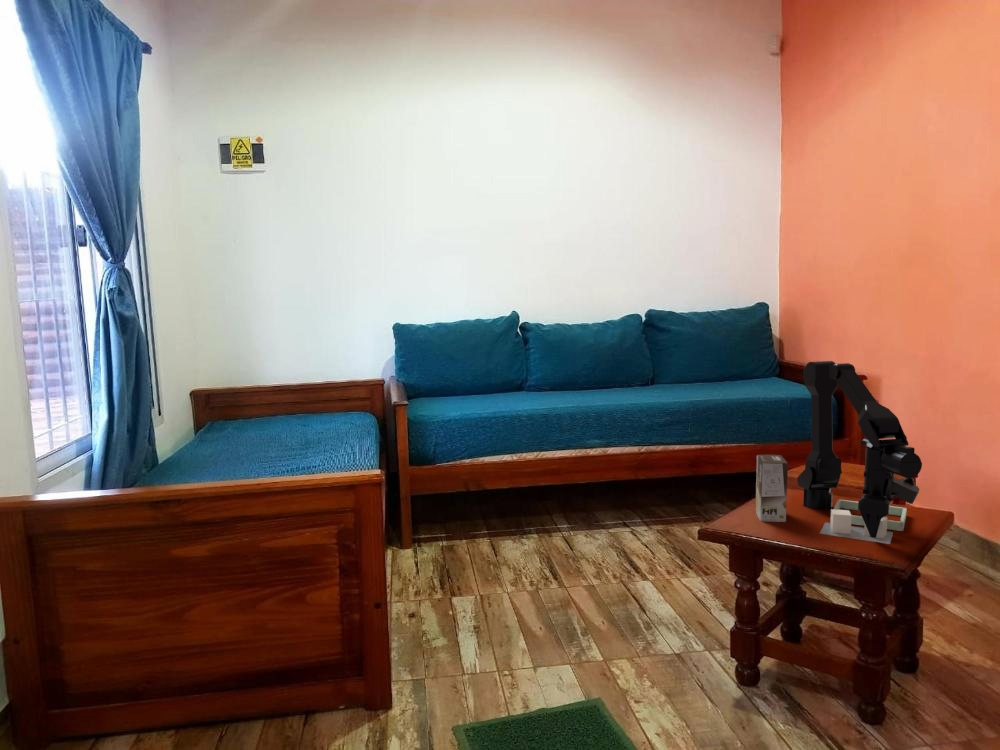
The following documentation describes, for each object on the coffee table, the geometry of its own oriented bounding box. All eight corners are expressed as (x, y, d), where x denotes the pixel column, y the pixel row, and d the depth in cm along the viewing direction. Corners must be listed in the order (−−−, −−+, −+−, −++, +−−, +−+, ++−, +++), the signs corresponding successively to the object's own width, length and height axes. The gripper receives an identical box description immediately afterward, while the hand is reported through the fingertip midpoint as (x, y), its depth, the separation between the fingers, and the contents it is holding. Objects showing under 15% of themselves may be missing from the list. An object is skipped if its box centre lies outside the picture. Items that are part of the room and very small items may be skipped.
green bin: (830, 524, 189) (831, 513, 189) (837, 510, 200) (838, 499, 200) (902, 535, 181) (903, 523, 181) (906, 519, 192) (906, 508, 192)
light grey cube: (863, 535, 179) (864, 517, 178) (868, 531, 181) (869, 514, 181) (882, 538, 176) (883, 521, 176) (886, 534, 179) (887, 517, 178)
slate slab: (819, 537, 181) (819, 533, 180) (825, 526, 188) (825, 522, 188) (889, 548, 173) (890, 543, 173) (892, 536, 180) (893, 532, 180)
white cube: (832, 532, 181) (833, 514, 180) (830, 527, 185) (831, 509, 184) (850, 533, 180) (851, 515, 179) (848, 528, 184) (848, 510, 183)
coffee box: (786, 525, 189) (789, 463, 187) (760, 524, 190) (762, 462, 188) (779, 514, 198) (781, 454, 196) (754, 513, 199) (755, 453, 197)
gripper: (915, 481, 165) (911, 550, 167) (919, 462, 180) (916, 525, 182) (859, 474, 170) (856, 541, 172) (868, 457, 186) (865, 518, 188)
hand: (875, 531), depth 179 cm, fingers open, 9 cm apart
